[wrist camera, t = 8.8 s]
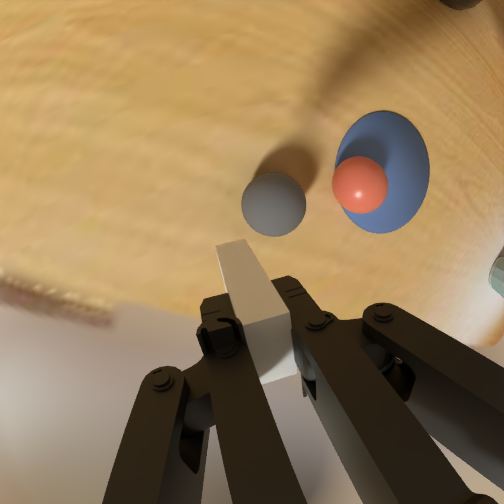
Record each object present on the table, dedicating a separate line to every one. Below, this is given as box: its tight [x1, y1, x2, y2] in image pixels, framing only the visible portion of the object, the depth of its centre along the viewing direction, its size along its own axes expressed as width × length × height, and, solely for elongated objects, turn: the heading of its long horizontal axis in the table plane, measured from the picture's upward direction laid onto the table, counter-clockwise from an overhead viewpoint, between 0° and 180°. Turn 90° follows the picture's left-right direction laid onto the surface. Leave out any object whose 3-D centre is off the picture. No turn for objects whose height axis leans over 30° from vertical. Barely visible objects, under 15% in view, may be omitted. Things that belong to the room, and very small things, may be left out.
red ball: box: [332, 156, 388, 214], centre depth 26 cm, size 6×6×6 cm
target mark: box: [335, 111, 430, 233], centre depth 29 cm, size 14×14×1 cm
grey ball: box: [241, 172, 306, 237], centre depth 25 cm, size 6×6×6 cm
